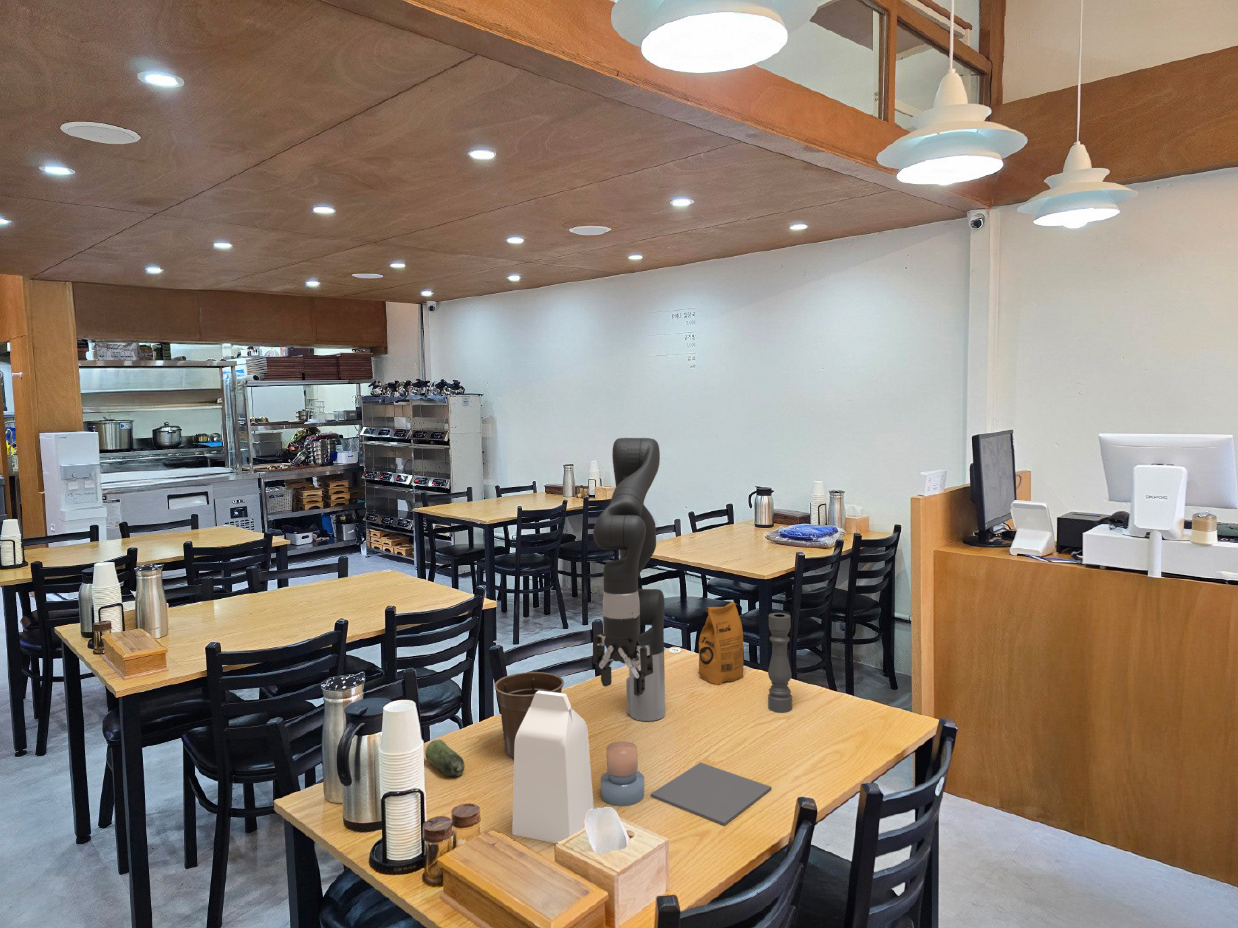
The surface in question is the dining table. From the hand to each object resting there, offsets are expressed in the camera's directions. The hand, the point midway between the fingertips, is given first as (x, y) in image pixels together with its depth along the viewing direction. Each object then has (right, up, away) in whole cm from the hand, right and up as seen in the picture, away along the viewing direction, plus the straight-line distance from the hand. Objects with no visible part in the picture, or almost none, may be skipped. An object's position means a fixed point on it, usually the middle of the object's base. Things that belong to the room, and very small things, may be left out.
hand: (622, 689), depth 158 cm
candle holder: (+42, -19, +46) cm, 65 cm away
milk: (-13, -24, -9) cm, 29 cm away
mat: (+18, -22, +2) cm, 29 cm away
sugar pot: (0, -22, +2) cm, 22 cm away
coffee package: (+29, -17, +70) cm, 78 cm away
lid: (0, -17, +1) cm, 17 cm away
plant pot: (-22, -21, +24) cm, 39 cm away
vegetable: (-40, -23, +15) cm, 48 cm away
